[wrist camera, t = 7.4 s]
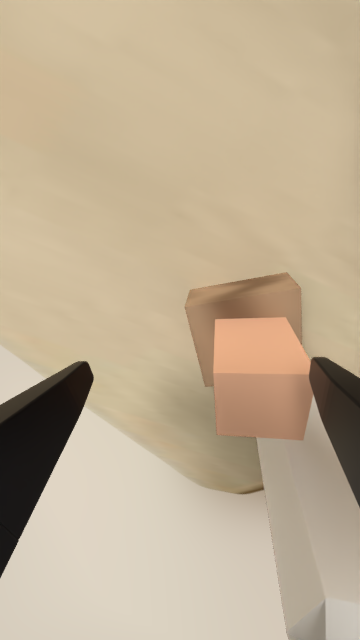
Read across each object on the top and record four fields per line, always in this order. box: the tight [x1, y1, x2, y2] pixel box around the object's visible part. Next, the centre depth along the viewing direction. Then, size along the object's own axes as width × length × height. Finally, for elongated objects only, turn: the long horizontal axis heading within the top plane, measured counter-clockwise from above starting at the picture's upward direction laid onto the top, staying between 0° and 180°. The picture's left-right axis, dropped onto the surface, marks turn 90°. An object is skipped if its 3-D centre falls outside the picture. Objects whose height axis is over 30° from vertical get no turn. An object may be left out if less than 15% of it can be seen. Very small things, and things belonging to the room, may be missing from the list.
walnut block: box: [185, 272, 302, 387], centre depth 19 cm, size 8×8×4 cm
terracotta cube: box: [213, 317, 313, 440], centre depth 15 cm, size 5×5×6 cm
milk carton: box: [256, 395, 360, 640], centre depth 16 cm, size 7×7×19 cm
